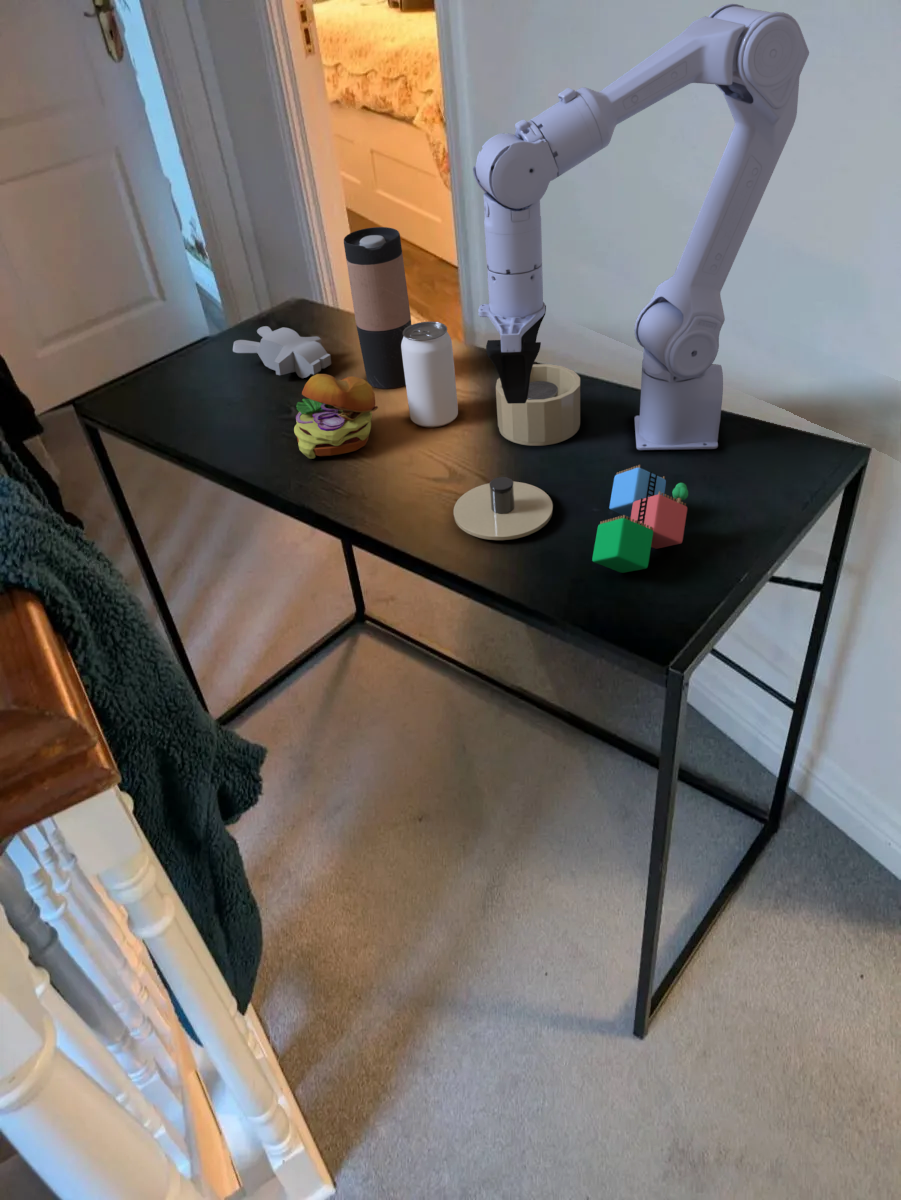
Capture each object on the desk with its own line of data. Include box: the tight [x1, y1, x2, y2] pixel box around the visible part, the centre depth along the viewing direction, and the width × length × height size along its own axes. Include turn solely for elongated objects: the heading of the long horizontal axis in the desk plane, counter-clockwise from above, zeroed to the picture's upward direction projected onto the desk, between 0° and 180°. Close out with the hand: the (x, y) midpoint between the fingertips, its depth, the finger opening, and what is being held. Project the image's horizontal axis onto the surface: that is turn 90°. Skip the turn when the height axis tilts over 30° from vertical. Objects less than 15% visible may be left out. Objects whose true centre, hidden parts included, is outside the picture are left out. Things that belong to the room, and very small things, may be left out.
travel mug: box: [343, 226, 412, 390], centre depth 123 cm, size 8×8×20 cm
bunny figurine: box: [232, 325, 332, 379], centre depth 135 cm, size 10×5×15 cm
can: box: [401, 321, 459, 428], centre depth 115 cm, size 6×6×12 cm
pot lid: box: [453, 476, 554, 541], centre depth 98 cm, size 11×11×4 cm
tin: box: [527, 381, 558, 400], centre depth 113 cm, size 5×5×4 cm
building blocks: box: [591, 464, 689, 574], centre depth 91 cm, size 8×8×12 cm
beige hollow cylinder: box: [495, 363, 581, 447], centre depth 113 cm, size 10×10×6 cm
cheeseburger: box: [293, 373, 379, 460], centre depth 114 cm, size 10×11×10 cm
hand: (519, 386), depth 101 cm, fingers open, 7 cm apart
